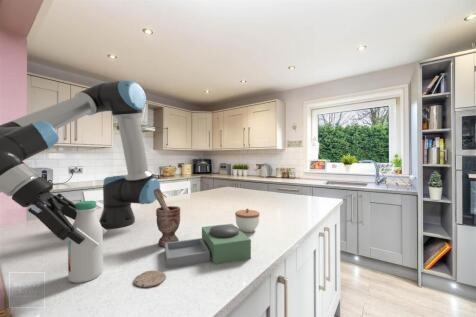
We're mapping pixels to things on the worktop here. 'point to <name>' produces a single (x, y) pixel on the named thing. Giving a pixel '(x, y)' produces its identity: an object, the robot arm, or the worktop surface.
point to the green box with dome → (226, 243)
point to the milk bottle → (79, 260)
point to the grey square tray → (186, 252)
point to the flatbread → (149, 278)
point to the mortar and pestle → (166, 219)
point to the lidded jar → (247, 220)
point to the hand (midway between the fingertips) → (99, 241)
